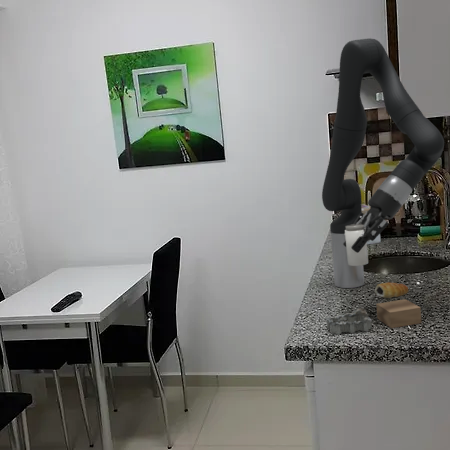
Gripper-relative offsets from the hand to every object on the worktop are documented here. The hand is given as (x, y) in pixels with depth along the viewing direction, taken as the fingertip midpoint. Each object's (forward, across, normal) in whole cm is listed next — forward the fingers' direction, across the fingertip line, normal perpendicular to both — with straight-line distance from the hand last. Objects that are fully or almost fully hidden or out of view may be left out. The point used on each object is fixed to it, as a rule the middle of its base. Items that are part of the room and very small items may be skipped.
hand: (350, 248), depth 152 cm
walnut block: (+7, +7, +19) cm, 22 cm away
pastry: (+2, -15, +25) cm, 29 cm away
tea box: (-16, -91, +40) cm, 101 cm away
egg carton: (+17, +7, +10) cm, 21 cm away
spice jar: (+2, 0, +4) cm, 5 cm away
